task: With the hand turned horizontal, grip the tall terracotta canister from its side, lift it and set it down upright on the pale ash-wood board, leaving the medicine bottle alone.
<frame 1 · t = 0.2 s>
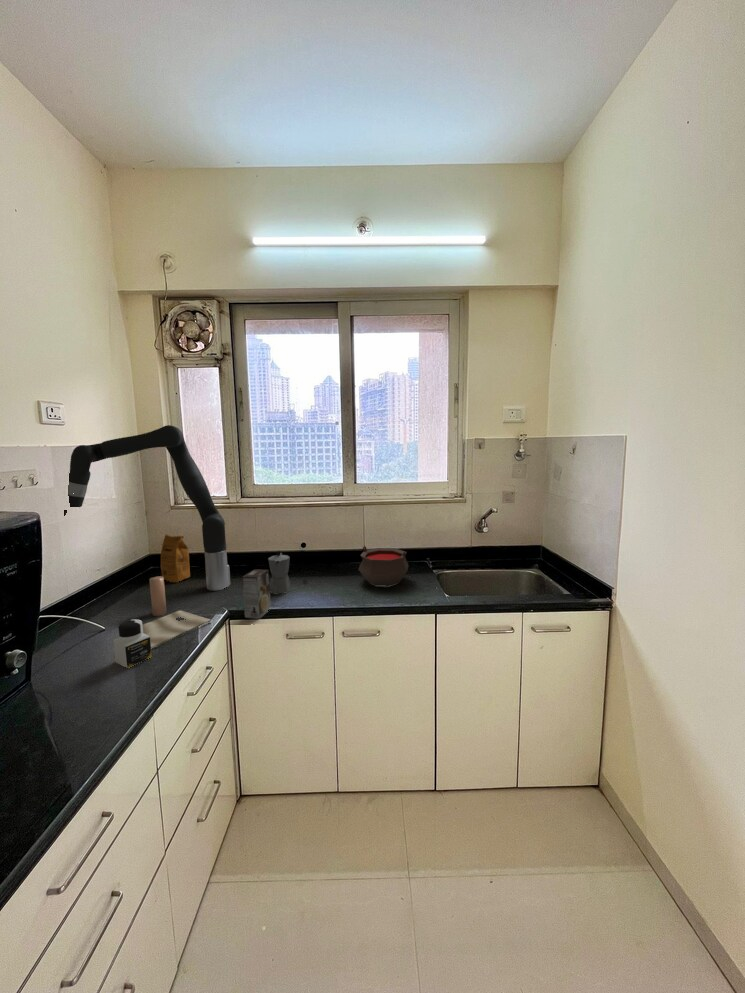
hand: (61, 532, 156), 31 cm above the counter, tool tilted 20°, fingers open, 8 cm apart
medicine bottle: (133, 660, 118), on the counter
coffee package: (176, 579, 191), on the counter
coffeepot: (280, 590, 174), on the counter
ash board: (167, 629, 137), on the counter
terracotta canister: (159, 613, 151), on the counter
brown cooking pot: (384, 582, 182), on the counter
coffee box: (258, 614, 150), on the counter
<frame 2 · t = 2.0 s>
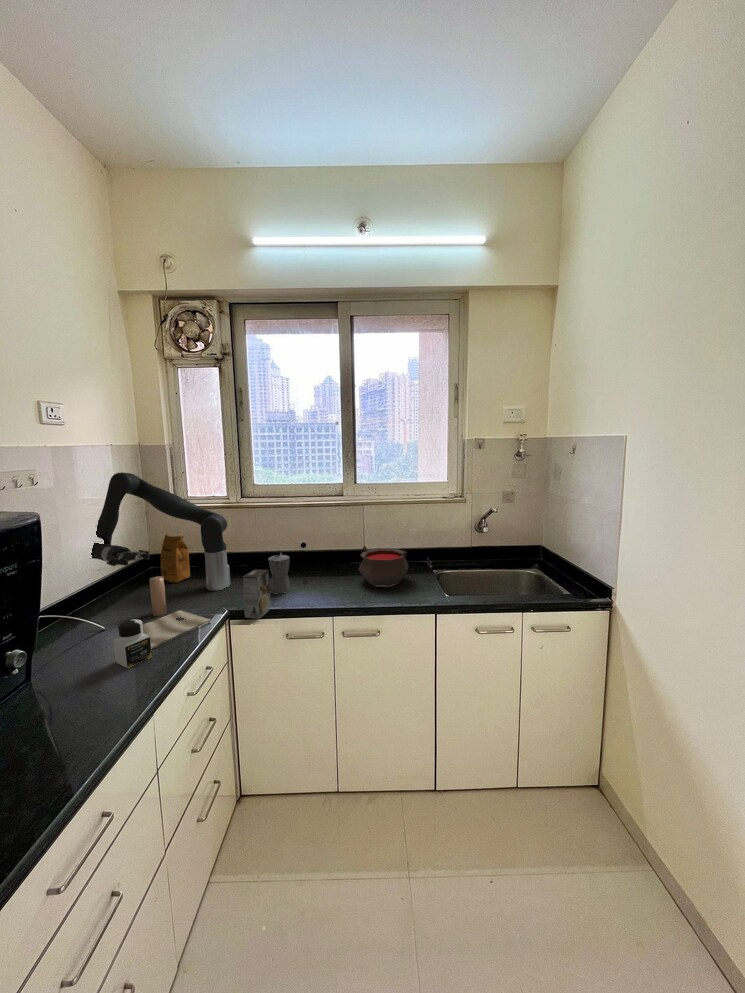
hand: (138, 560, 154), 20 cm above the counter, tool horizontal, fingers open, 8 cm apart
nothing on the counter moved.
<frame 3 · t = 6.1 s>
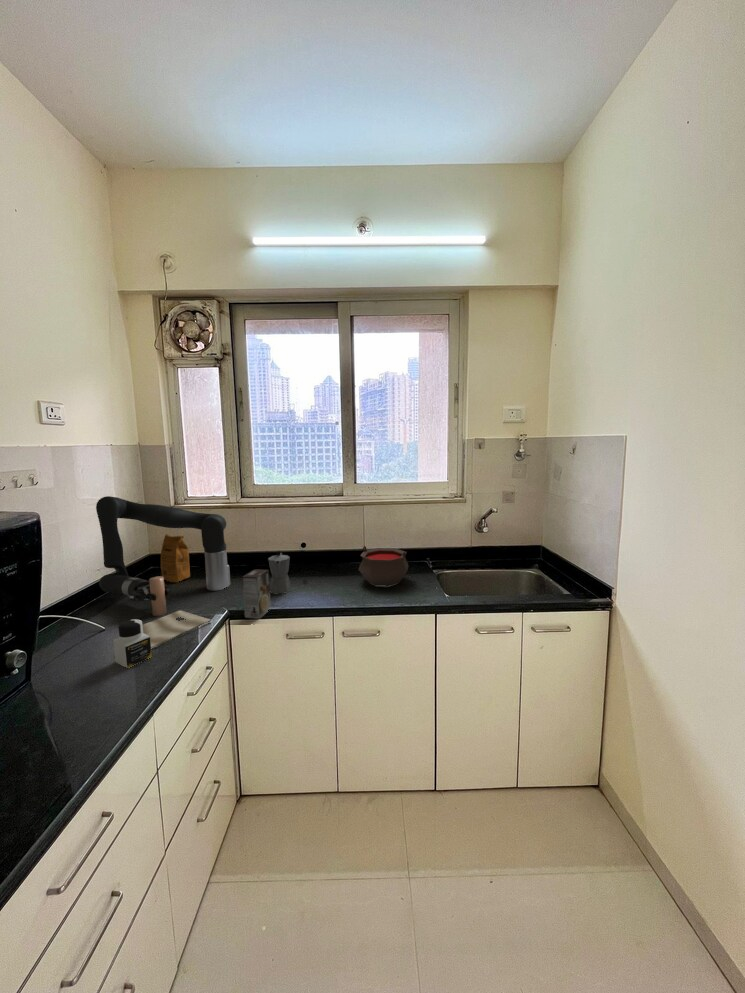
hand: (162, 595, 149), 8 cm above the counter, tool horizontal, fingers closed on terracotta canister, 4 cm apart
terracotta canister: (159, 613, 151), on the counter, touching gripper
everything else where it was.
when the fingers open (10 cm above the counter, at t = 12.0 s): terracotta canister drops 1 cm, resting on ash board.
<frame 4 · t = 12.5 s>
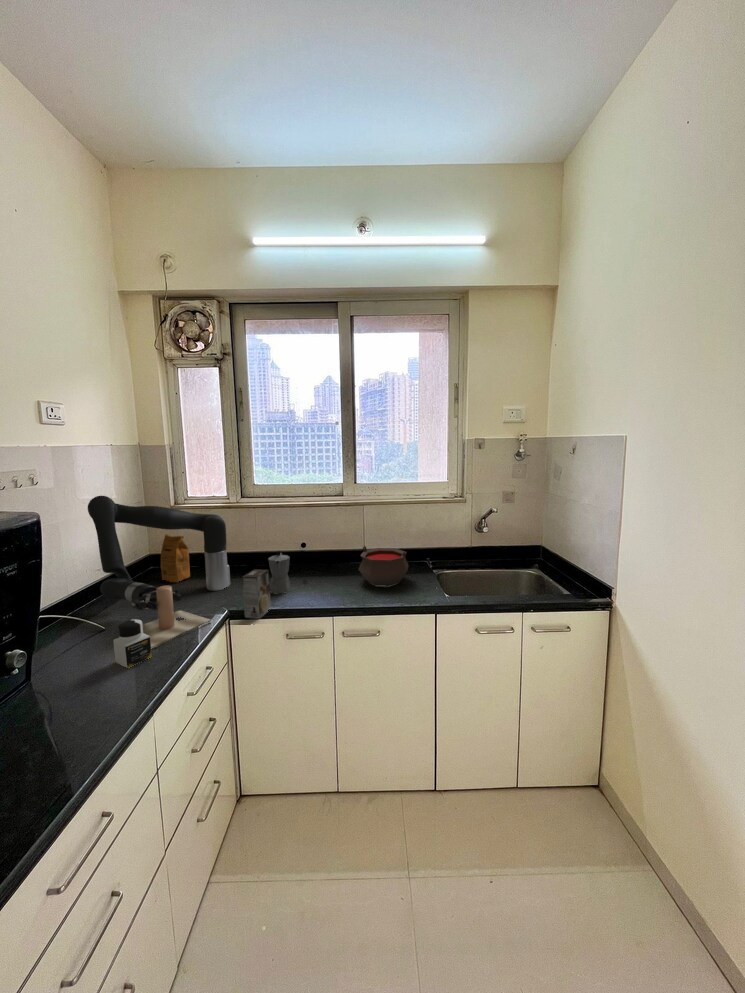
hand: (168, 602, 135), 10 cm above the counter, tool horizontal, fingers open, 8 cm apart
terracotta canister: (166, 626, 137), point 1 cm above the counter, touching ash board
everything else where it was.
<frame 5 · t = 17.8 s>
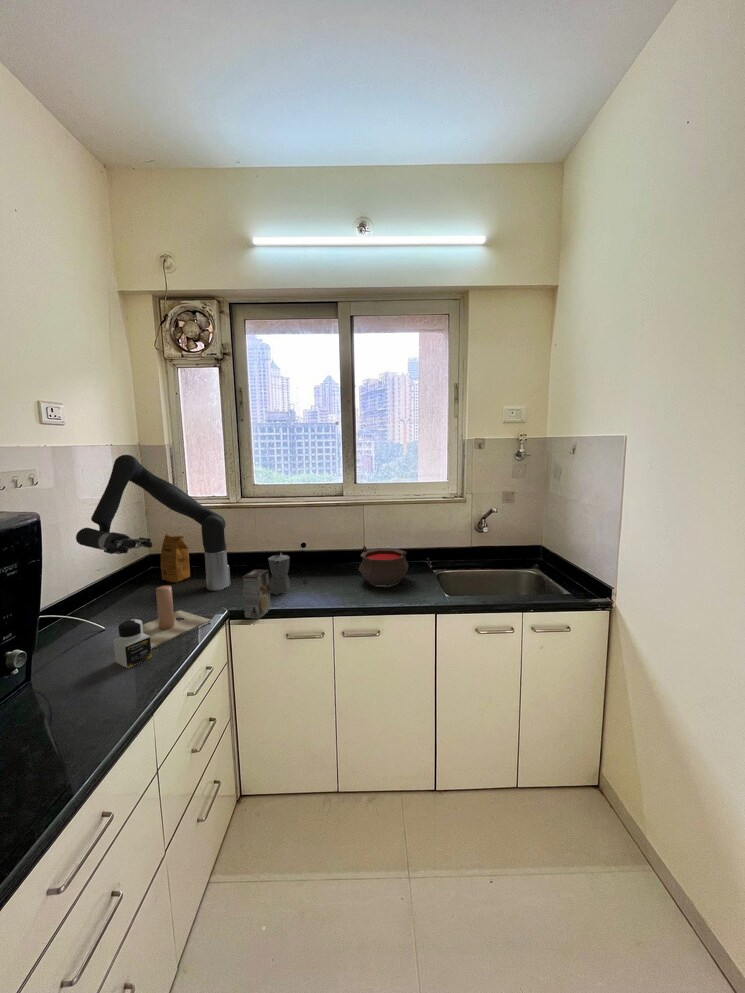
hand: (139, 547, 140), 28 cm above the counter, tool horizontal, fingers open, 8 cm apart
nothing on the counter moved.
at the end: terracotta canister inside the target area on the ash board (0.1 cm from its centre), point 1.2 cm above the ash board's base; terracotta canister tilted 1°; the gripper is holding nothing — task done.
